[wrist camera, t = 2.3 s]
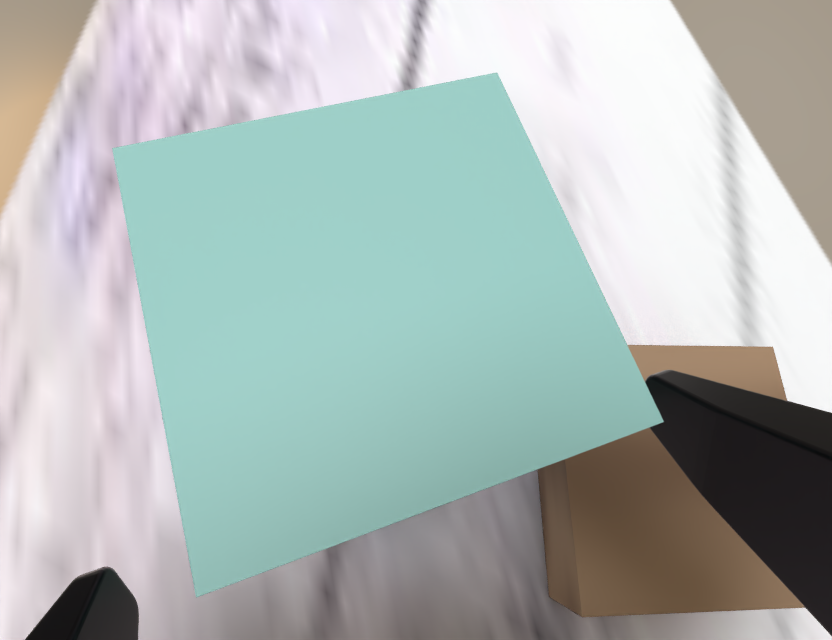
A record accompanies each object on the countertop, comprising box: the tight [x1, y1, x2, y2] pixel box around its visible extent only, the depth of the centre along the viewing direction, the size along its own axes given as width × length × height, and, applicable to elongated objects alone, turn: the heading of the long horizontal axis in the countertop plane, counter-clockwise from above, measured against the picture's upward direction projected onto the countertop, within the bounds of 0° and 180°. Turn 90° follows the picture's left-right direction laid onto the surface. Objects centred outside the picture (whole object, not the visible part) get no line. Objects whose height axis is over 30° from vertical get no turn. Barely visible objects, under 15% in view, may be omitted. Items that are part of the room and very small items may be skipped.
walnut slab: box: [538, 345, 805, 617], centre depth 17 cm, size 8×8×3 cm
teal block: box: [112, 73, 664, 597], centre depth 11 cm, size 5×5×13 cm
